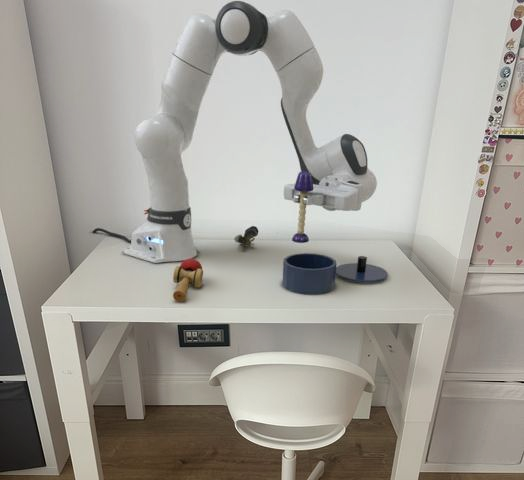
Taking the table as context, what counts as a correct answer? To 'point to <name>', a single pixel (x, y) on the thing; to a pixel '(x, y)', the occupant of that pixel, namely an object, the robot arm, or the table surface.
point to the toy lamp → (304, 186)
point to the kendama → (187, 277)
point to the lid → (361, 271)
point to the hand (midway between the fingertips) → (300, 200)
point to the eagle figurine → (247, 237)
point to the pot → (309, 273)
